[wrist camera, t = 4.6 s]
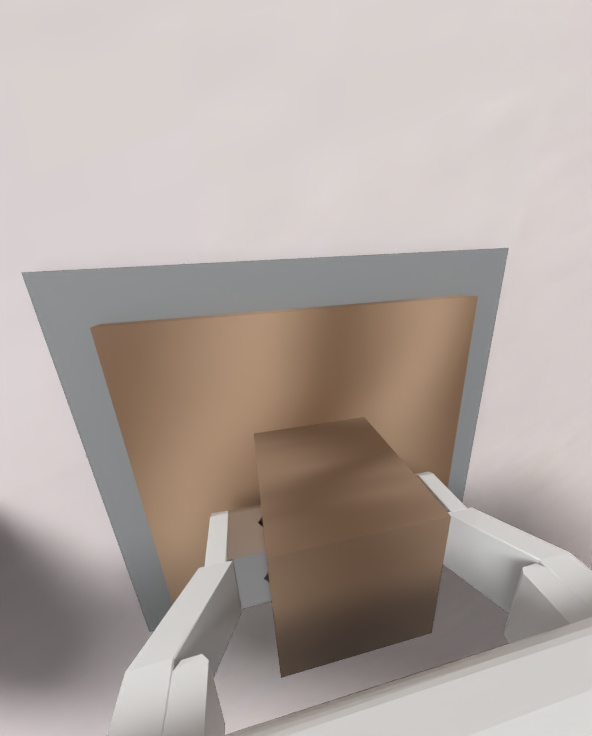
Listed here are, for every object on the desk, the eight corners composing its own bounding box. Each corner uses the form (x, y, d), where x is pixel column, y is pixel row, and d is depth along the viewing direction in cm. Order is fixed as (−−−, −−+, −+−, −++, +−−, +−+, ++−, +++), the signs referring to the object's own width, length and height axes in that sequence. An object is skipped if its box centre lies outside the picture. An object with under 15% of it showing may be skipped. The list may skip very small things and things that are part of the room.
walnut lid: (464, 294, 10) (663, 314, 5) (429, 540, 14) (526, 676, 9) (99, 323, 8) (-88, 395, 3) (178, 600, 12) (141, 809, 7)
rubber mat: (496, 249, 10) (508, 247, 10) (445, 547, 15) (452, 555, 15) (34, 272, 8) (21, 272, 7) (152, 618, 13) (149, 631, 12)
